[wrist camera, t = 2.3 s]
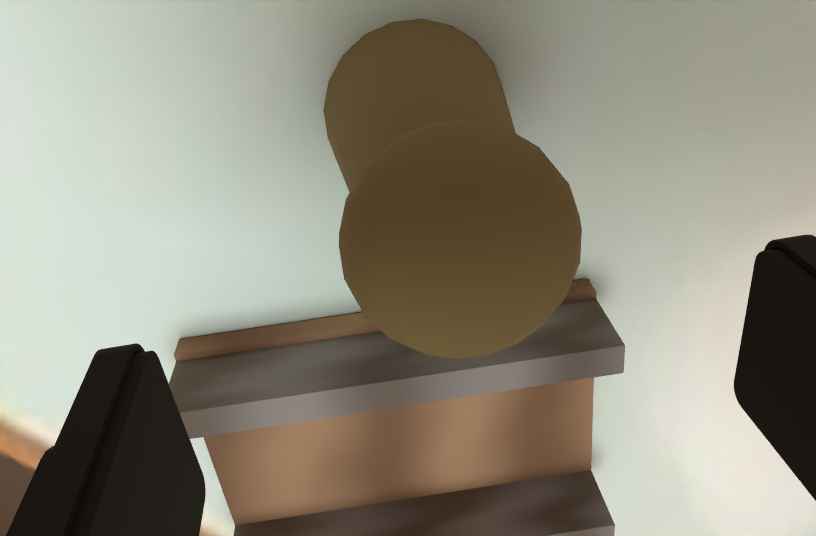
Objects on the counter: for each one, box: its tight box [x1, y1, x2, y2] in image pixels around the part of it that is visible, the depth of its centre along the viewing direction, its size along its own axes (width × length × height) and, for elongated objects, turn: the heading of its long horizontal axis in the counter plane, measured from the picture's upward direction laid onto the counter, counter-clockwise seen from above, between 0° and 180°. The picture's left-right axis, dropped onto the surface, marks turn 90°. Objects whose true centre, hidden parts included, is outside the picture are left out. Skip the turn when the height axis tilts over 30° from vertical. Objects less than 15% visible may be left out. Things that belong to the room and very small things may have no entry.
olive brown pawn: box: [324, 19, 582, 359], centre depth 18 cm, size 6×6×11 cm
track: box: [169, 279, 625, 536], centre depth 28 cm, size 16×11×4 cm
